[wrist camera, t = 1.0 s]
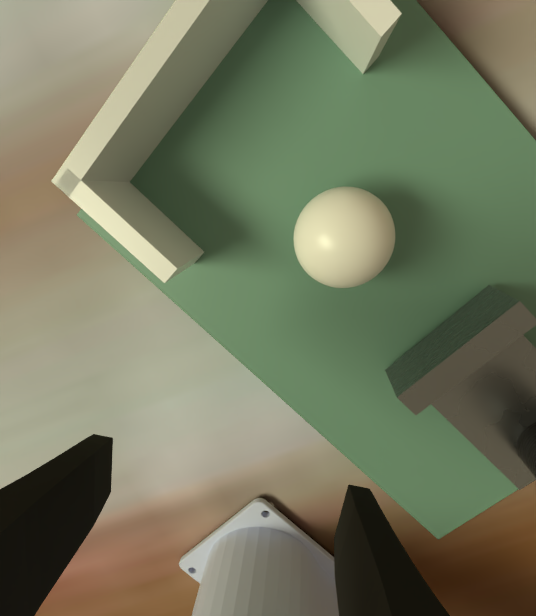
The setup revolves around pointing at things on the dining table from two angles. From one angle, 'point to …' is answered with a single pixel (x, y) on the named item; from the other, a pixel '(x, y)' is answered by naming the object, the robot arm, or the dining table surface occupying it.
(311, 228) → the ball
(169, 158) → the board
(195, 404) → the dining table surface
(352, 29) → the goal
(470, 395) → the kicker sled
